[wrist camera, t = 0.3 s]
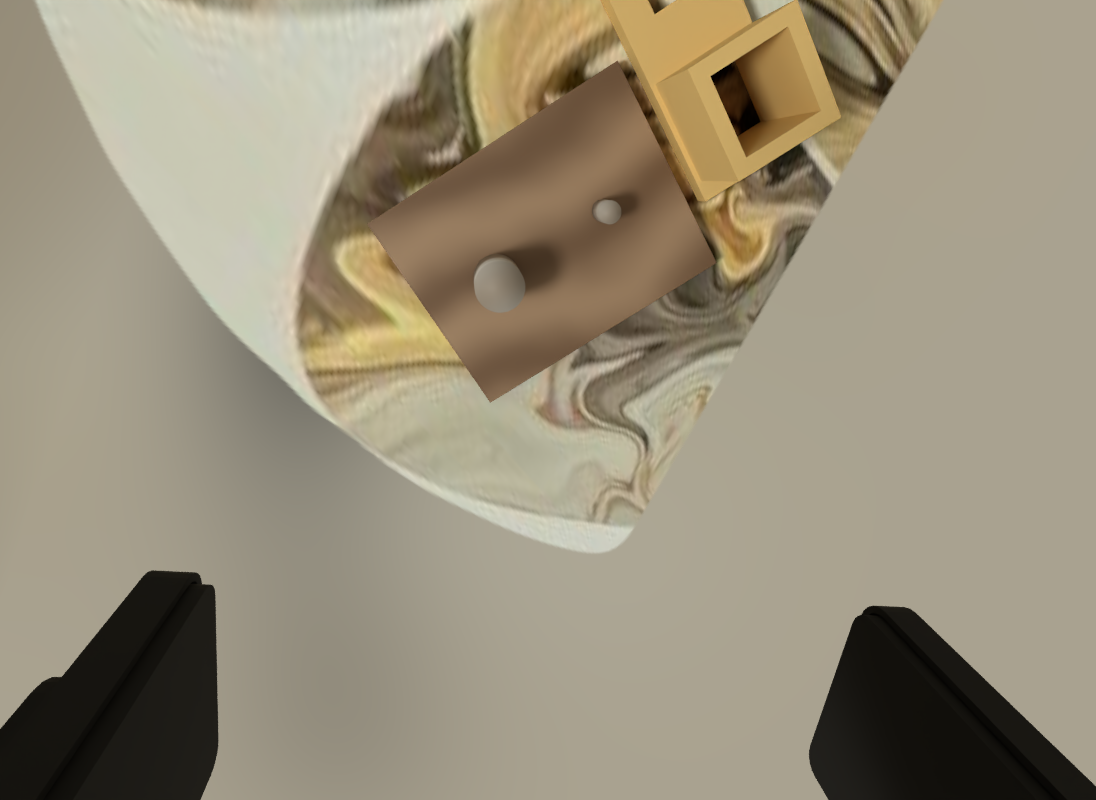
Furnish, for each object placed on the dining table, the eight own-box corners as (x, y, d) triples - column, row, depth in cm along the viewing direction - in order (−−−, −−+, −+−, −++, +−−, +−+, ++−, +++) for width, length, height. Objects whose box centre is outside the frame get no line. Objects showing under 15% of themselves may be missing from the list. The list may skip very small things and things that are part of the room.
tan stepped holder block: (789, 142, 42) (854, 136, 35) (697, 200, 43) (743, 205, 36) (686, -107, 37) (739, -173, 30) (582, -37, 37) (610, -86, 30)
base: (369, 222, 41) (356, 229, 36) (613, 64, 39) (634, 48, 34) (489, 396, 45) (492, 423, 41) (710, 260, 44) (740, 271, 39)
